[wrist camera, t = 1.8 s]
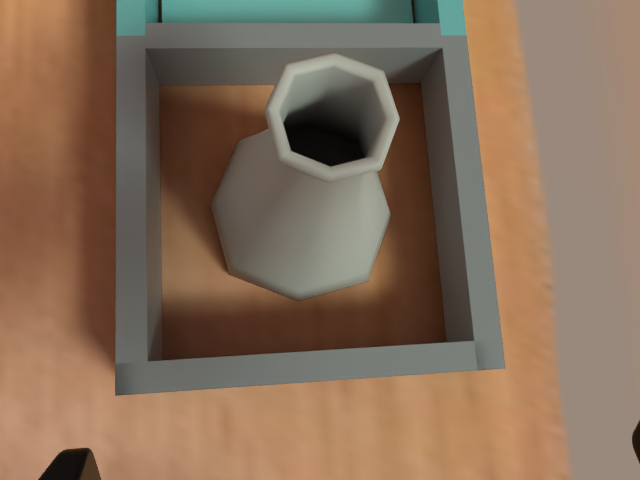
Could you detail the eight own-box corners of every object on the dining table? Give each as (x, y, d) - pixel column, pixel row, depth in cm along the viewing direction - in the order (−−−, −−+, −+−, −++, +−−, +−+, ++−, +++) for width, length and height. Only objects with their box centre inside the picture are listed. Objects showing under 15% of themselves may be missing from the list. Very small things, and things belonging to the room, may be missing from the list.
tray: (473, 366, 23) (505, 368, 20) (134, 389, 21) (115, 395, 18) (416, -173, 27) (434, -236, 24) (133, -185, 26) (117, -254, 23)
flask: (388, 306, 23) (485, 274, 13) (204, 297, 22) (161, 257, 12) (390, 133, 24) (480, -11, 14) (217, 121, 24) (188, -41, 14)
